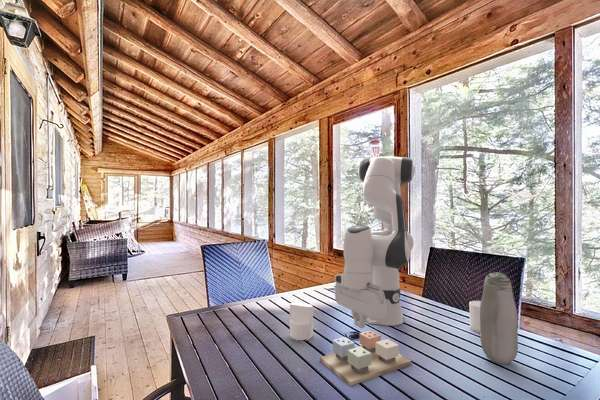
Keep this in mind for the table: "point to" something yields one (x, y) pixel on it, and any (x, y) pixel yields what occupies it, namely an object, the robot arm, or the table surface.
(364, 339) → the tile four
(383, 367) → the board
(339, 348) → the tile three
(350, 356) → the tile two
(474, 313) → the mug
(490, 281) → the grey tall rounded block
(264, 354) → the table surface
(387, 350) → the tile one
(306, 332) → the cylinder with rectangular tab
